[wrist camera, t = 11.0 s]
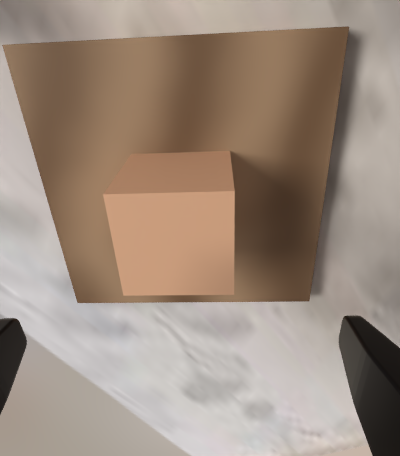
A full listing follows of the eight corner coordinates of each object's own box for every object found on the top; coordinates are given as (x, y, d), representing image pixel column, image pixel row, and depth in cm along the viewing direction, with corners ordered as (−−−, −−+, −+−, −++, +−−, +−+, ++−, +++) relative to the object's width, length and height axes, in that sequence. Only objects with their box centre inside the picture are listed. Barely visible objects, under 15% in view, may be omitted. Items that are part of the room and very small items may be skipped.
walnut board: (341, 26, 15) (349, 26, 14) (305, 290, 23) (309, 301, 22) (14, 44, 16) (2, 45, 15) (82, 292, 23) (77, 303, 23)
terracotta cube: (230, 151, 17) (234, 190, 13) (230, 236, 20) (234, 294, 15) (131, 154, 17) (103, 194, 13) (143, 238, 20) (123, 295, 16)
